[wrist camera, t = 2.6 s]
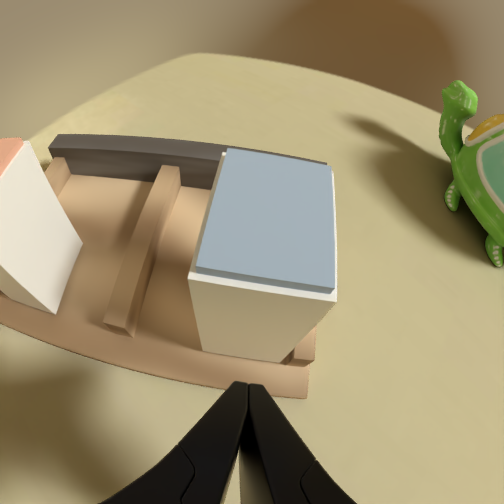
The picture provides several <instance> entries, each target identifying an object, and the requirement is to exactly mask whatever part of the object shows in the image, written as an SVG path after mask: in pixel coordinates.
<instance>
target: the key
mask: <svg viewBox="0 0 504 504" xmlns="http://www.w3.org/2000/svg"><path fill="white" fill-rule="evenodd" d="M82 244H83V242H82V241H81V239H80V238H79V236H78V234H77V233H76V231H75V229H74V227H73V226H72V224H71V222H70V221H69V219H68V217H67V215H66V214H65V212H64V210H63V208H62V206H61V205H60V203H59V201H58V199H57V197H56V195H55V193H54V191H53V190H52V188H51V186H50V184H49V182H48V180H47V178H46V176H45V174H44V172H43V170H42V168H41V166H40V164H39V162H38V159H37V157H36V155H35V153H34V151H33V149H32V147H31V144H30V142H29V141H22V139H21V138H1V139H0V290H1V291H2V292H3V293H4V294H5V295H7V296H8V297H9V298H10V299H12V300H14V301H17V302H20V303H23V304H25V305H28V306H31V307H34V308H37V309H40V310H43V311H46V312H49V313H52V314H55V315H56V313H57V310H58V307H59V304H60V301H61V298H62V295H63V292H64V290H65V287H66V284H67V282H68V279H69V276H70V274H71V271H72V269H73V266H74V264H75V261H76V259H77V256H78V254H79V252H80V249H81V247H82Z"/></svg>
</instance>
